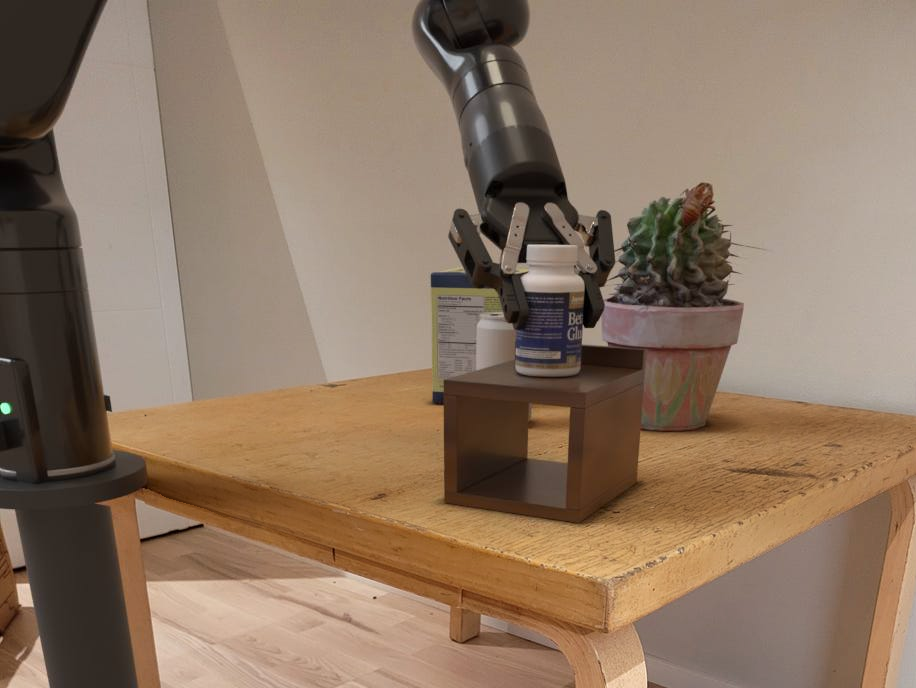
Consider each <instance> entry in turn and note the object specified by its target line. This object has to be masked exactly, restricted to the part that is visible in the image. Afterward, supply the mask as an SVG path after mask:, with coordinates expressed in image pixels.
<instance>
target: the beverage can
mask: <svg viewBox="0 0 916 688" xmlns="http://www.w3.org/2000/svg"><path fill="white" fill-rule="evenodd" d="M480 317H481V320H480V321H479V323H478V324H477V337H476V370H480V369H483V368H487V367H490V366H494V365H498V364H501V363H505V362H508V361H512V360H515V341H516V330H514V328H513V324H512V323H508V322H507V321H506V319H505V318H504V314H503V312H488V313H481V314H480ZM532 409H533V404H531V403H529V419H528V421H530V420H531V419H532V411H533V410H532Z"/></svg>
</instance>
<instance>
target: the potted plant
mask: <svg viewBox="0 0 916 688" xmlns="http://www.w3.org/2000/svg"><path fill="white" fill-rule="evenodd" d="M683 194H685V197H681V196H682V195H683ZM713 198H714V189H713V184H712V183H709V182H704V181H702V182H700V183H699V184H697V185H696V186H695V187H693V188H691V190H689V188H686V189H685V190H683V192H682V193H681V194H680V195H679V197H677V198H675V199H674V200H673V201H672V202H671V203H669V202H670V200H671V198H669V197H668V198H666V197H665V196H661V197H660V198H659V199H658V200H655V199H652V201H650V202H649V204H648V206H647V207H643V209H642V211H641V215H638V216H635V217H631V218H628V220H627V224H626V227H627V232H628V234H629V236H627V238H626V239H625V240H624V241H623V242H622V243H621V244H620V246H621V247H619V248H616V249H614V252H615V253H616V252H618V251H619V252H618V253H617V254H616V256H618V255H619V254H620V252H623V253H622V254H620V255H619V257H618V260H615V263H620V264H621V265H623V267H621V268H620V269H619V271H618V272H617V275H615V276H613V277H611V278H609V279H607V281H606V282H608V281H611V280H614V279H617V278H620V279H621V281H622V282H621V283H616V284H615V283H614V284H612V286H615V287H614V288H613V290H616V291H615V292H612V293H608V295H609V296H611V297H607V298H603V300H604V303H605V307H604V311H603V313H602V315H601V317H600V320H601V322H600V323H601V341H604V342H605V343H607V346H613V347H628V348H642V349H647V353H646V366H645V378H644V382H643V383H644V391H643V404H642V417H641V430H648V431H655V432H656V431H658V432H686V431H694V430H697V429H701V428H704V427H705V426H706V423H707V419H708V417H709V413H710V411H711V407H712V405H713V401H714V399H715V395H716V393H717V390H718V387H719V384H720V380H721V378H722V375H723V372H724V370H725V366H726V363H727V360H728V357H729V354H730V351H731V347H732V346H734V345H737V344H738V340H739V336H740V330H741V324H742V319H743V315H744V314H743V313H744V307H745V303H744V302H741V301H738V300H733V299H730V298H725V296H726V295H727V294H728V290H729V286H733V285H735V283H729V281H730V279H731V277H732V273H733V274H740V275H742V272H737V271H735V270H733V266H732V265H731V264H732V262H730V261H728V260H727V259H728V258H729V257H735V258H739V259H740V258H742V257H741V256H738V255H736V254H734V253H731V252H730V251H729V249H730V248H731V246H732V245H734V246H740V247H744V245H743V244H739V243H734V242H732V232H730V235H729V238H726V237H722V235H723V234H725V233H728V232H729V230H725V227H732V226H733V224H723V223H721V222H722V220H721V219H719V217H718V214H714V215H712V216H710V215H711V214H712V213H714V212H715V211H716V206H713V204H714V203H716V201H715V200H713ZM709 216H710V217H709ZM745 248H750V246H749V245H748V246H747V245H745ZM751 248H752V249H756V247H754V246H751ZM757 250H761V248H760V247H757ZM762 250H763V251H765V249H764V248H762ZM767 251H769V252H770V249H769V250H768V249H767ZM771 252H774V251H771ZM744 260H747V258H744ZM736 265H737V266H738V265H739V264H736ZM728 276H729V278H728V279H727V281H725V279H726V278H727V277H728ZM607 286H608V287H610V284H608V285H606V287H607ZM602 288H605V285H604V286H603V287H602Z"/></svg>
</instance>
